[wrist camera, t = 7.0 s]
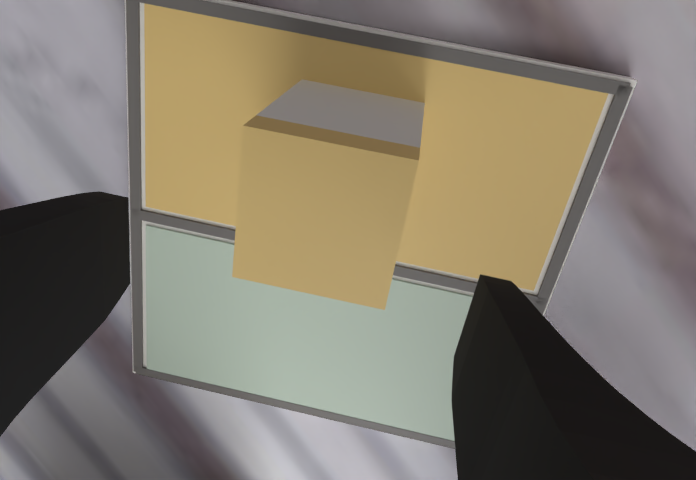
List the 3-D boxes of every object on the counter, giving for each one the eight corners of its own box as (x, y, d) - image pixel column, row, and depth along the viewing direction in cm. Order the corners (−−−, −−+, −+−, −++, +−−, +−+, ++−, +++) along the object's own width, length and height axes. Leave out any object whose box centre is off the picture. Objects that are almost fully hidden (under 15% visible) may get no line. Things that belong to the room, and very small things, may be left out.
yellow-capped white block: (399, 215, 19) (384, 310, 14) (288, 193, 19) (232, 276, 14) (424, 102, 17) (419, 160, 12) (301, 79, 18) (242, 125, 12)
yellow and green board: (486, 445, 24) (488, 458, 23) (139, 364, 25) (131, 374, 24) (631, 77, 17) (639, 81, 16) (134, -19, 18) (122, -18, 17)
